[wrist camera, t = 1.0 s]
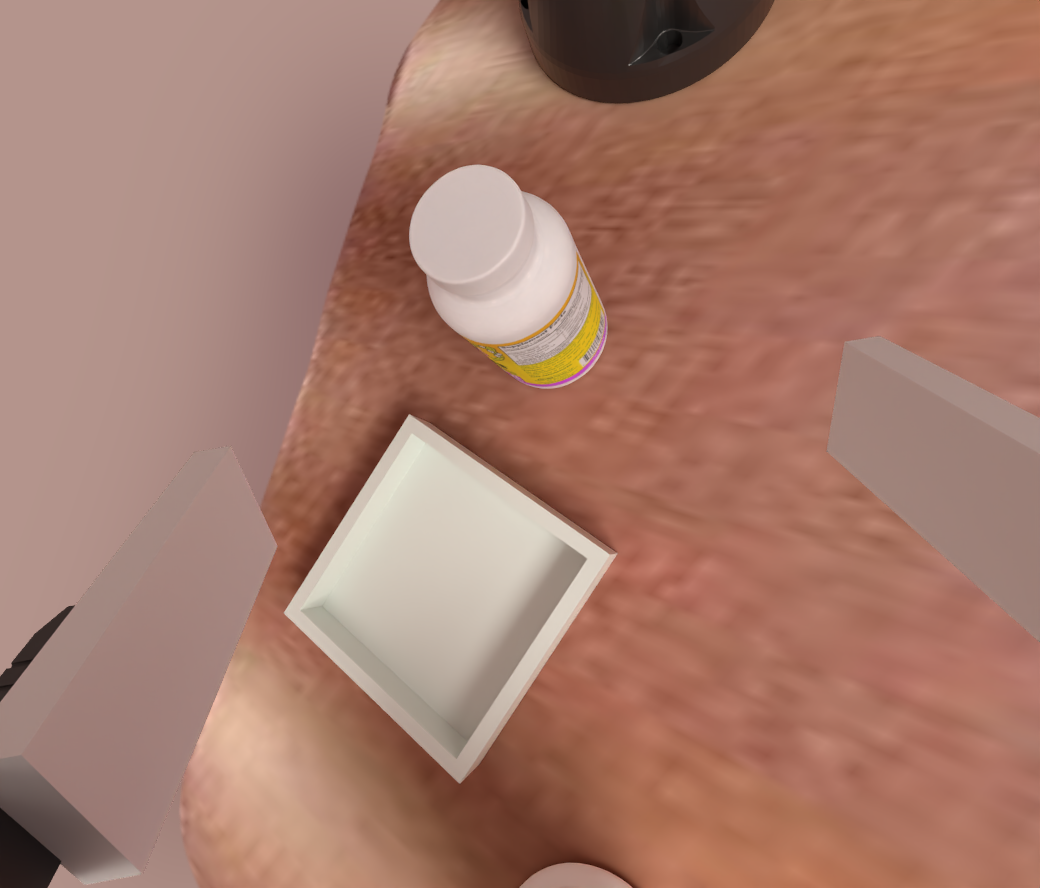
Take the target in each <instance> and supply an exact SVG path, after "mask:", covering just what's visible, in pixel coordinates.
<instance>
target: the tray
mask: <svg viewBox="0 0 1040 888" xmlns="http://www.w3.org/2000/svg"><path fill="white" fill-rule="evenodd" d="M617 554H618V553H617V552H615V551H614V550H612V549H611V548H609V547H608V546H606V545H605V544H604V543H602V542H601V541H599V540H598V539H596V538H595V537H594V536H592V535H591V534H589V533H588V532H586V531H585V530H583V529H582V528H581V527H579V526H578V525H576V524H575V523H573V522H572V521H570V520H569V519H568V518H566V517H565V516H563V515H562V514H560V513H559V512H558V511H556V510H555V509H553V508H552V507H550V506H549V505H547V504H546V503H545V502H543V501H542V500H540V499H539V498H537V497H536V496H534V495H533V494H532V493H530V492H529V491H527V490H526V489H524V488H523V487H522V486H520V485H519V484H517V483H516V482H514V481H513V480H511V479H510V478H509V477H507V476H506V475H504V474H503V473H501V472H500V471H498V470H497V469H496V468H494V467H493V466H491V465H490V464H488V463H487V462H486V461H484V460H483V459H481V458H480V457H478V456H477V455H475V454H474V453H473V452H471V451H470V450H468V449H467V448H465V447H464V446H462V445H461V444H460V443H458V442H457V441H455V440H454V439H452V438H451V437H450V436H448V435H447V434H445V433H444V432H442V431H441V430H439V429H438V428H437V427H435V426H434V425H432V424H431V423H429V422H427V421H424V420H422V419H420V418H417V417H415V416H412V415H410V414H409V415H408V417H407V419H406V420H405V422H404V423H403V425H402V426H401V428H400V430H399V431H398V433H397V434H396V436H395V438H394V439H393V441H392V442H391V444H390V445H389V447H388V449H387V450H386V452H385V453H384V455H383V457H382V458H381V460H380V461H379V463H378V464H377V466H376V468H375V469H374V471H373V472H372V474H371V476H370V477H369V479H368V480H367V482H366V483H365V485H364V487H363V488H362V490H361V491H360V493H359V495H358V496H357V498H356V499H355V501H354V502H353V504H352V506H351V507H350V509H349V510H348V512H347V514H346V515H345V517H344V518H343V520H342V521H341V523H340V525H339V526H338V528H337V529H336V531H335V533H334V534H333V536H332V537H331V539H330V541H329V542H328V544H327V545H326V547H325V548H324V550H323V552H322V553H321V555H320V556H319V558H318V560H317V561H316V563H315V564H314V566H313V567H312V569H311V571H310V572H309V574H308V575H307V577H306V579H305V580H304V582H303V583H302V585H301V586H300V588H299V590H298V591H297V593H296V594H295V596H294V598H293V599H292V601H291V602H290V604H289V605H288V607H287V609H286V610H285V612H284V614H285V615H286V616H287V617H288V618H289V619H290V620H291V621H292V622H293V623H294V624H296V625H297V626H298V627H299V628H300V629H301V630H302V631H303V632H304V633H305V634H306V635H307V636H308V637H309V638H310V639H311V640H312V641H313V642H314V643H315V644H316V645H317V646H318V647H319V648H320V649H321V650H322V651H323V652H324V653H325V654H326V655H327V656H328V657H329V658H331V659H332V660H333V661H334V662H335V663H336V664H337V665H338V666H339V667H340V668H341V669H342V670H343V671H344V672H345V673H346V674H347V675H348V676H349V677H350V678H351V679H352V680H353V681H354V682H355V683H356V684H357V685H358V686H359V687H360V688H361V689H362V690H363V691H364V692H366V693H367V694H368V695H369V696H370V697H371V698H372V699H373V700H374V701H375V702H376V703H377V704H378V705H379V706H380V707H381V708H382V709H383V710H384V711H385V712H386V713H387V714H388V715H389V716H390V717H391V718H392V719H393V720H394V721H395V722H396V723H397V724H398V725H399V726H401V727H402V728H403V729H404V730H405V731H406V732H407V733H408V734H409V735H410V736H411V737H412V738H413V739H414V740H415V741H416V742H417V743H418V744H419V745H420V746H421V747H422V748H423V749H424V750H425V751H426V752H427V753H428V754H429V755H430V756H431V757H432V758H433V759H435V760H436V761H437V762H438V763H439V764H440V765H441V766H442V767H443V768H444V769H445V770H446V771H447V772H448V773H449V774H450V775H451V776H452V777H453V778H454V779H455V780H456V781H457V782H458V783H459V784H460V783H461V782H462V781H463V780H464V779H465V778H466V777H467V776H468V775H469V774H470V773H471V772H472V771H473V770H474V769H475V768H476V767H477V766H478V765H479V764H480V763H481V761H482V759H483V758H484V756H485V755H486V753H487V752H488V750H489V749H490V747H491V746H492V744H493V743H494V741H495V740H496V738H497V737H498V735H499V734H500V732H501V731H502V729H503V727H504V726H505V724H506V723H507V721H508V720H509V718H510V717H511V715H512V714H513V712H514V711H515V709H516V708H517V706H518V705H519V703H520V702H521V700H522V698H523V697H524V695H525V694H526V692H527V691H528V689H529V688H530V686H531V685H532V683H533V682H534V680H535V679H536V677H537V676H538V674H539V673H540V671H541V670H542V668H543V666H544V665H545V663H546V662H547V660H548V659H549V657H550V656H551V654H552V653H553V651H554V650H555V648H556V647H557V645H558V644H559V642H560V641H561V639H562V638H563V636H564V634H565V633H566V631H567V630H568V628H569V627H570V625H571V624H572V622H573V621H574V619H575V618H576V616H577V615H578V613H579V612H580V610H581V609H582V607H583V605H584V604H585V602H586V601H587V599H588V598H589V596H590V595H591V593H592V592H593V590H594V589H595V587H596V586H597V584H598V583H599V581H600V580H601V578H602V577H603V575H604V573H605V572H606V570H607V569H608V567H609V566H610V564H611V563H612V561H613V560H614V558H615V557H616V555H617Z"/></svg>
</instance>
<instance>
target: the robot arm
mask: <svg viewBox="0 0 1040 888" xmlns="http://www.w3.org/2000/svg"><path fill="white" fill-rule="evenodd" d="M773 2H774V0H519V7H520V13H521V17H522V21H523V25H524V28H525V31H526V33H527V36H528V39H529V42H530V45H531V48H532V50H533V53H534V55H535V58H536V59H537V61H538V63H539V65H540V66H541V68H542V69H543V70H544V72H545V73H546V74H547V75H548V76H549V77H550V78H551V79H552V80H553V81H554V82H555V83H557V84H558V85H559V86H561V87H562V88H564V89H565V90H567V91H569V92H571V93H573V94H575V95H578V96H580V97H583V98H586V99H590V100H594V101H600V102H609V103H629V102H638V101H644V100H650V99H654V98H658V97H661V96H665V95H668V94H671V93H673V92H676V91H678V90H681V89H683V88H685V87H687V86H690V85H692V84H694V83H695V82H697V81H699V80H701V79H703V78H704V77H706V76H707V75H709V74H711V73H712V72H714V71H715V70H716V69H718V68H719V67H721V66H722V65H723V64H724V63H726V62H727V61H728V60H729V59H730V58H732V57H733V56H734V55H735V54H736V53H737V52H738V51H739V50H740V49H741V48H742V47H743V46H744V45H745V44H746V43H747V42H748V41H749V39H750V38H751V37H752V36H753V35H754V33H755V32H756V31H757V30H758V28H759V27H760V25H761V24H762V22H763V21H764V19H765V17H766V16H767V14H768V12H769V10H770V8H771V6H772V4H773ZM827 452H828V453H829V454H830V455H831V456H832V457H833V458H835V459H836V460H837V461H838V462H839V463H840V464H841V465H842V466H844V467H845V468H846V469H847V470H848V471H849V472H850V473H851V474H852V475H854V476H855V477H856V478H857V479H858V480H859V481H860V482H861V483H863V484H864V485H865V486H866V487H867V488H868V489H869V490H870V491H871V492H873V493H874V494H875V495H876V496H877V497H878V498H879V499H880V500H881V501H883V502H884V503H885V504H886V505H887V506H888V507H889V508H890V509H892V510H893V511H894V512H895V513H896V514H897V515H898V516H899V517H900V518H902V519H903V520H904V521H905V522H906V523H907V524H908V525H909V526H910V527H912V528H913V529H914V530H915V531H916V532H917V533H918V534H919V535H921V536H922V537H923V538H924V539H925V540H926V541H927V542H928V543H929V544H931V545H932V546H933V547H934V548H935V549H936V550H937V551H938V552H939V553H941V554H942V555H943V556H944V557H945V558H946V559H947V560H948V561H950V562H951V563H952V564H953V565H954V566H955V567H956V568H957V569H958V570H960V571H961V572H962V573H963V574H964V575H965V576H966V577H967V578H969V579H970V580H971V581H972V582H973V583H974V584H975V585H976V586H977V587H979V588H980V589H981V590H982V591H983V592H984V593H985V594H986V595H987V596H989V597H990V598H991V599H992V600H993V601H994V602H995V603H996V604H998V605H999V606H1000V607H1001V608H1002V609H1003V610H1004V611H1005V612H1006V613H1008V614H1009V615H1010V616H1011V617H1012V618H1013V619H1014V620H1015V621H1016V622H1018V623H1019V624H1020V625H1021V626H1022V627H1023V628H1024V629H1025V630H1027V631H1028V632H1029V633H1030V634H1031V635H1032V636H1033V637H1034V638H1035V639H1037V640H1038V641H1039V642H1040V418H1038V417H1037V416H1035V415H1033V414H1031V413H1029V412H1027V411H1025V410H1023V409H1021V408H1019V407H1017V406H1015V405H1013V404H1011V403H1009V402H1007V401H1005V400H1003V399H1001V398H1000V397H998V396H996V395H994V394H992V393H990V392H988V391H986V390H984V389H982V388H980V387H978V386H976V385H974V384H972V383H970V382H968V381H966V380H964V379H963V378H961V377H959V376H957V375H955V374H953V373H951V372H949V371H947V370H945V369H943V368H941V367H939V366H937V365H935V364H933V363H931V362H929V361H927V360H926V359H924V358H922V357H920V356H918V355H916V354H914V353H912V352H910V351H908V350H906V349H904V348H902V347H900V346H898V345H896V344H894V343H892V342H890V341H889V340H887V339H885V338H883V337H881V336H877V337H871V338H865V339H859V340H853V341H847V342H845V343H844V349H843V355H842V361H841V367H840V373H839V379H838V385H837V391H836V397H835V403H834V409H833V416H832V422H831V428H830V434H829V440H828V446H827ZM276 549H277V544H276V542H275V540H274V537H273V535H272V533H271V531H270V529H269V527H268V525H267V522H266V520H265V518H264V516H263V514H262V512H261V510H260V507H259V505H258V503H257V501H256V499H255V497H254V495H253V492H252V490H251V488H250V486H249V484H248V482H247V480H246V477H245V476H244V473H243V471H242V469H241V467H240V464H239V462H238V460H237V458H236V456H235V454H234V452H233V449H232V447H231V446H227V447H221V448H215V449H210V450H203V451H197V452H194V453H193V454H192V455H191V457H190V458H189V459H188V461H187V462H186V463H185V465H184V466H183V467H182V468H181V470H180V471H179V472H178V474H177V475H176V476H175V477H174V479H173V480H172V481H171V483H170V484H169V485H168V487H167V488H166V489H165V490H164V492H163V493H162V494H161V495H160V497H159V498H158V500H157V501H156V502H155V503H154V505H153V506H152V507H151V508H150V510H149V511H148V512H147V514H146V515H145V516H144V517H143V519H142V520H141V521H140V523H139V524H138V525H137V526H136V528H135V529H134V530H133V532H132V533H131V534H130V535H129V537H128V538H127V540H126V541H125V542H124V543H123V545H122V546H121V547H120V548H119V550H118V551H117V552H116V554H115V555H114V556H113V558H112V559H111V560H110V561H109V563H108V564H107V565H106V566H105V568H104V569H103V570H102V572H101V573H100V574H99V575H98V577H97V578H96V579H95V581H94V582H93V583H92V584H91V586H90V587H89V588H88V590H87V591H86V592H85V594H84V595H83V596H82V597H81V599H80V600H79V601H78V603H77V604H76V605H74V606H69V607H67V608H66V609H65V610H63V611H62V612H61V613H59V614H58V615H57V616H56V617H55V618H53V619H52V620H51V621H50V622H49V623H47V624H46V625H45V626H44V627H43V628H41V629H40V630H39V631H38V632H37V633H35V634H34V636H33V637H32V638H31V639H30V641H29V642H28V643H27V644H26V646H25V647H24V648H23V649H22V651H21V652H20V653H19V654H18V655H17V657H16V658H15V659H14V660H13V662H12V667H11V668H9V669H6V670H5V671H4V673H3V674H2V675H1V676H0V888H47V887H48V886H49V884H50V882H51V880H52V878H53V876H54V874H55V872H56V870H57V869H58V867H59V865H60V864H61V865H63V866H64V867H65V868H66V869H67V870H68V871H69V872H71V873H72V874H73V875H74V876H75V877H76V878H77V879H79V880H80V881H81V882H82V883H83V884H84V885H87V884H92V883H98V882H103V881H109V880H114V879H120V878H125V877H130V876H136V875H141V874H143V872H144V870H145V868H146V865H147V863H148V860H149V858H150V855H151V853H152V851H153V848H154V846H155V843H156V841H157V838H158V836H159V834H160V831H161V829H162V826H163V824H164V821H165V819H166V817H167V814H168V811H169V809H170V806H171V804H172V802H173V799H174V797H175V795H176V792H177V790H178V787H179V785H180V782H181V780H182V778H183V775H184V773H185V770H186V768H187V765H188V763H189V761H190V758H191V756H192V753H193V751H194V748H195V746H196V743H197V741H198V739H199V736H200V734H201V731H202V729H203V726H204V724H205V722H206V719H207V717H208V714H209V712H210V709H211V707H212V705H213V702H214V700H215V697H216V695H217V692H218V690H219V687H220V685H221V683H222V680H223V678H224V675H225V673H226V670H227V668H228V666H229V663H230V661H231V658H232V656H233V653H234V651H235V649H236V646H237V644H238V641H239V639H240V636H241V634H242V632H243V629H244V627H245V624H246V622H247V619H248V617H249V614H250V612H251V610H252V607H253V605H254V602H255V600H256V597H257V595H258V593H259V590H260V588H261V585H262V583H263V580H264V578H265V576H266V573H267V571H268V568H269V566H270V563H271V561H272V558H273V556H274V554H275V551H276Z"/></svg>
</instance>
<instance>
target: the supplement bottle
mask: <svg viewBox="0 0 1040 888" xmlns="http://www.w3.org/2000/svg"><path fill="white" fill-rule="evenodd" d="M409 241H410V248H411V252H412V255H413V257H414V259H415V261H416V263H417V264H418V265H419V267H420V268H421V269H422V271H423V272H424V273H426V274H427V285H428V290H429V294H430V297H431V300H432V303H433V305H434V307H435V309H436V310H437V312H438V313H439V315H440V316H441V318H442V319H443V320H444V321H445V322H446V323H447V324H448V325H449V326H450V327H451V328H452V329H453V330H455V331H456V332H457V333H458V334H460V335H461V336H462V337H464V338H465V339H466V340H467V341H468V342H470V343H471V344H472V345H474V346H475V347H476V348H477V349H478V350H480V351H481V352H482V353H483V354H484V355H486V356H487V357H488V358H490V359H491V360H492V361H493V362H494V363H496V364H497V365H498V366H499V367H501V368H502V369H503V370H504V371H506V372H507V373H508V374H510V375H511V376H512V377H514V378H515V379H517V380H518V381H520V382H522V383H524V384H526V385H528V386H532V387H536V388H543V389H545V388H558V387H562V386H565V385H568V384H570V383H572V382H574V381H576V380H577V379H579V378H580V377H582V376H583V375H584V374H586V373H587V372H588V371H589V370H590V369H591V368H592V367H593V366H594V364H595V363H596V362H597V360H598V358H599V357H600V355H601V353H602V351H603V348H604V345H605V342H606V338H607V317H606V313H605V310H604V307H603V304H602V302H601V300H600V297H599V295H598V293H597V291H596V289H595V286H594V284H593V282H592V280H591V278H590V276H589V273H588V271H587V269H586V267H585V265H584V263H583V260H582V258H581V256H580V254H579V252H578V249H577V247H576V245H575V242H574V240H573V238H572V235H571V233H570V231H569V229H568V227H567V225H566V223H565V221H564V220H563V218H562V217H561V215H560V214H559V213H558V212H557V211H556V210H555V209H554V208H553V207H552V206H551V205H550V204H548V203H547V202H546V201H544V200H542V199H541V198H539V197H537V196H535V195H533V194H530V193H526V192H523V191H521V190H520V188H519V187H518V185H517V184H516V183H515V181H514V180H513V179H512V178H511V177H510V176H508V175H507V174H506V173H504V172H503V171H501V170H499V169H497V168H494V167H491V166H486V165H469V166H464V167H460V168H458V169H455V170H453V171H451V172H449V173H447V174H445V175H444V176H442V177H441V178H439V179H438V180H437V181H436V182H435V183H434V184H433V185H431V186H430V188H429V189H428V190H427V191H426V192H425V193H424V194H423V196H422V197H421V199H420V200H419V202H418V204H417V206H416V208H415V210H414V213H413V215H412V219H411V223H410V230H409Z"/></svg>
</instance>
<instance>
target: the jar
mask: <svg viewBox="0 0 1040 888" xmlns="http://www.w3.org/2000/svg"><path fill="white" fill-rule="evenodd" d="M520 888H633V887H631V886H630V885H629V884H628V883H626V882H625V881H624V880H622V879H621V878H619V877H617V876H616V875H614V874H612V873H610V872H608V871H606V870H604V869H601V868H598V867H595V866H592V865H588V864H582V863H561V864H556V865H553V866H549V867H547V868H544V869H542V870H540V871H538V872H537V873H535V874H534V875H532V876H531V877H530V878H528V879H527V880H526V881H525V882H524V883H523V884H522V885H521V886H520Z"/></svg>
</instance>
